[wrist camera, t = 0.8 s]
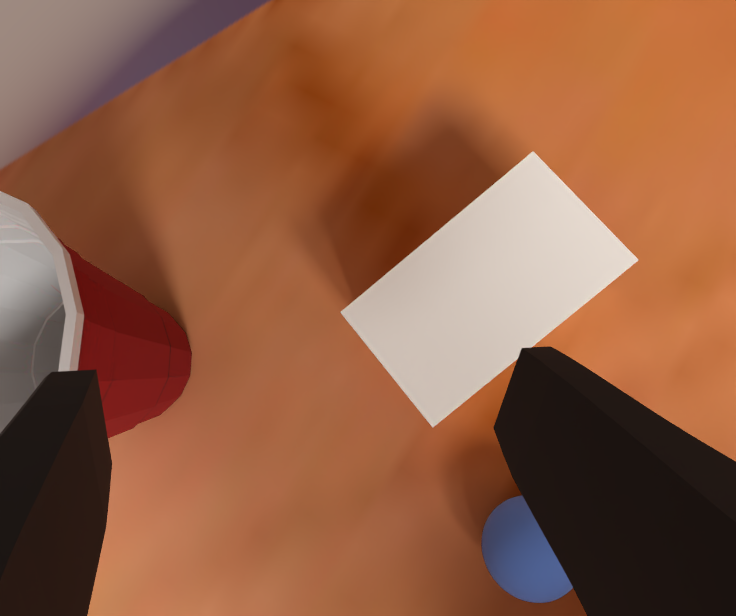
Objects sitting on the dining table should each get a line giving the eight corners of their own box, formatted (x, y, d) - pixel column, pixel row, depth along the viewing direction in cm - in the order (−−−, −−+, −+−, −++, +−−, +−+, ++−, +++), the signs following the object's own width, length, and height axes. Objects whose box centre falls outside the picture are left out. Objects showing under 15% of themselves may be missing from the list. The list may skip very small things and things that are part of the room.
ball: (594, 544, 24) (619, 575, 20) (521, 601, 24) (532, 643, 20) (531, 468, 25) (543, 484, 21) (461, 524, 25) (461, 550, 21)
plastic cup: (123, 218, 30) (-94, 113, 18) (279, 333, 28) (144, 296, 16) (6, 385, 30) (-289, 386, 18) (152, 514, 28) (-77, 610, 16)
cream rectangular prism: (602, 285, 25) (638, 259, 20) (438, 418, 26) (432, 427, 21) (519, 197, 27) (533, 151, 21) (364, 325, 27) (340, 312, 22)
